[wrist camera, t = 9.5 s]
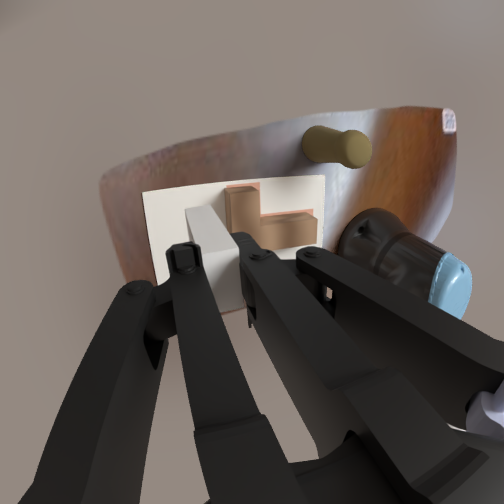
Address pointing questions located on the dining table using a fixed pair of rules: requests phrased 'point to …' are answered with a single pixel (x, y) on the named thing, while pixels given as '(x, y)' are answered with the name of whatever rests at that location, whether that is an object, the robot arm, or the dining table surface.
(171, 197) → the mat
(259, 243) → the t block
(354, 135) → the olive pepper mill
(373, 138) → the dining table surface
